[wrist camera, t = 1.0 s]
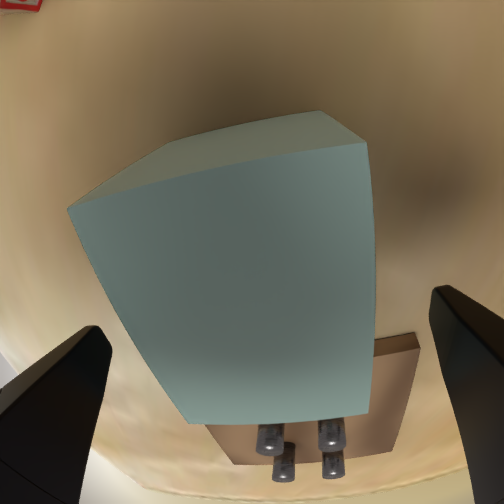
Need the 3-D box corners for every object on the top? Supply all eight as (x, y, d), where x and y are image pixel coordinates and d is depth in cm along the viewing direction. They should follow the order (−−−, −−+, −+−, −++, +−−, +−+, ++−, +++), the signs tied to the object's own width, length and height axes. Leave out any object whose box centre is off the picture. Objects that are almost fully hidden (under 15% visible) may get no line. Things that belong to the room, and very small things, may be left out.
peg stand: (414, 332, 16) (435, 391, 12) (390, 440, 22) (396, 480, 18) (176, 359, 18) (157, 415, 15) (235, 453, 25) (229, 492, 21)
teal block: (320, 109, 11) (366, 142, 5) (343, 285, 15) (368, 413, 9) (169, 141, 12) (66, 208, 6) (220, 301, 16) (188, 423, 10)
